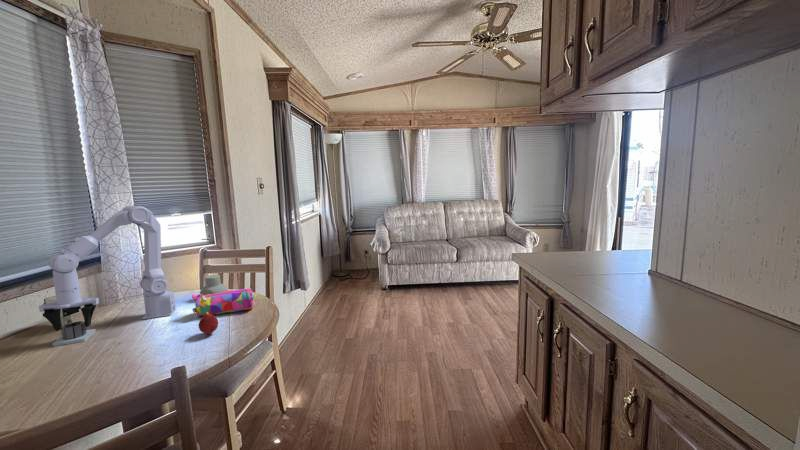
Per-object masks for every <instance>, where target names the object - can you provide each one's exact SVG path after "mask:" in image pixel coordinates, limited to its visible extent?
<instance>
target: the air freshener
mask: <svg viewBox="0 0 800 450" xmlns="http://www.w3.org/2000/svg"><path fill="white" fill-rule="evenodd" d="M204 279H205V280H204V281H205V286H203V287H202V288H201V289H200V290H199V294H201V295H208V294H215V293H220V292H224V291H228V286H227V285H225V284H223V283H221V275H220V274H210V275H207V276H205V278H204Z"/></svg>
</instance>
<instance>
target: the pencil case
mask: <svg viewBox="0 0 800 450" xmlns="http://www.w3.org/2000/svg"><path fill="white" fill-rule="evenodd" d="M191 298H192V299H194V300H195V304H194V305H195V307H193V308H192V312H193V313H194V314H196V317H198V318H199V317H204V316H205V315H206V312H209V314H211V315H213V314H214V315H220V314H227V312H228V313H235V312H241V311H249V310H252V309H253V307H254V304H255V296H254V293H253V289H252V288H251V287H247V288H242V289H234V290H233V289H232V290H227V291H224V292H220V293H215V294H208V295H201V294H200V293H199V294H197V295H195V294H194V293H193V294H192V295H191Z"/></svg>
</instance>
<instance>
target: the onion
mask: <svg viewBox="0 0 800 450" xmlns="http://www.w3.org/2000/svg"><path fill="white" fill-rule="evenodd" d="M218 326H219V320H218V318H217V317H216V316H215V314H214V315H211V314H209V312H206V315H204V316H202V318H201V319H200V320H199V323H198V329H199V330H200V332H201V333H203V334H206V335H209V334H210V335H212V334H213V333H214V332H215V331H216V330H217V328H218Z"/></svg>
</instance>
